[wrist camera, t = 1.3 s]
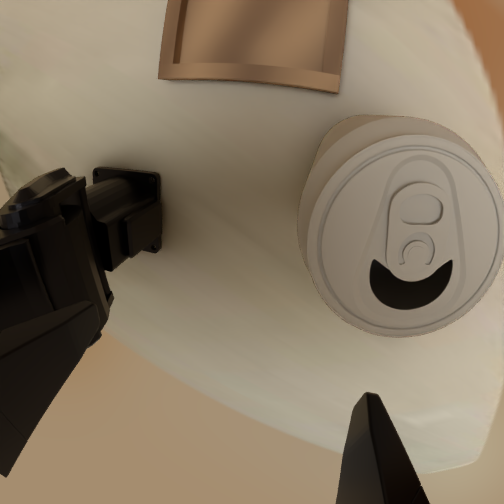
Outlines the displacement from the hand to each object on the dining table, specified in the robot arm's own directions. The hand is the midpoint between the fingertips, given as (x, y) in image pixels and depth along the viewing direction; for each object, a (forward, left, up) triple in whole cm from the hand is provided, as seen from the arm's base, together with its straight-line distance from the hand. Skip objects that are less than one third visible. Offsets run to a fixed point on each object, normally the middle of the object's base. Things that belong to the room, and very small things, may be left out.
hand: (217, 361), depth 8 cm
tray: (-4, +14, -13) cm, 19 cm away
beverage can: (+4, +4, -13) cm, 15 cm away
